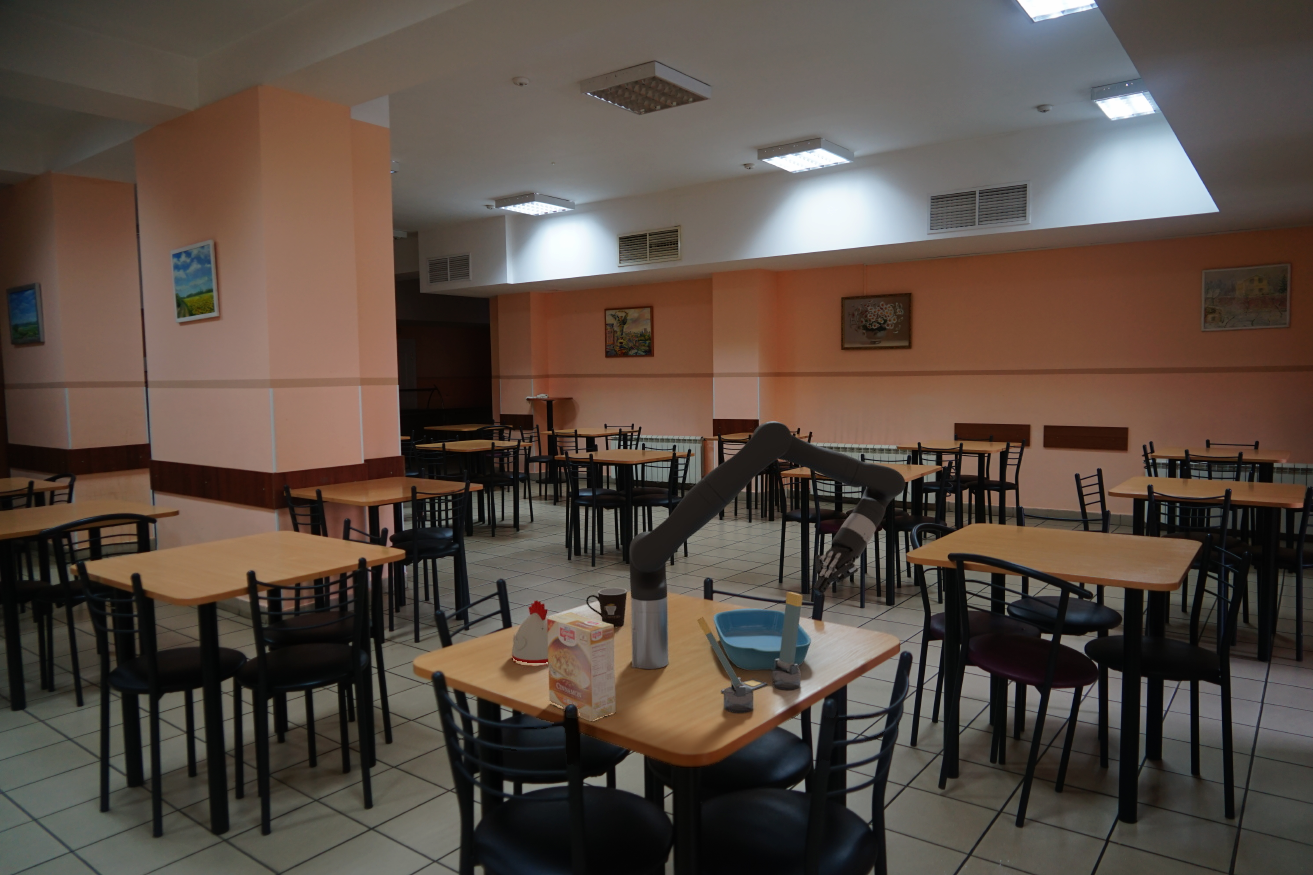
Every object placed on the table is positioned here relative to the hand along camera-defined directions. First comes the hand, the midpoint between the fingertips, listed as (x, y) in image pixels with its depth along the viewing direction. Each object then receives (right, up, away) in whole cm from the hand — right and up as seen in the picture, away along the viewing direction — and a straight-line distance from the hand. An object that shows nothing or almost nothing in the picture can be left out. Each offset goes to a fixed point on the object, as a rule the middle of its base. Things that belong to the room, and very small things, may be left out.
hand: (817, 591), depth 189 cm
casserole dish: (-11, -20, +20) cm, 30 cm away
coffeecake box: (-55, -23, -16) cm, 61 cm away
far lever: (-8, -16, -5) cm, 19 cm away
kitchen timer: (-69, -21, +19) cm, 75 cm away
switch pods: (-14, -21, -11) cm, 28 cm away
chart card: (-18, -21, -6) cm, 28 cm away
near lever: (-21, -17, -17) cm, 32 cm away
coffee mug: (-53, -19, +49) cm, 74 cm away
